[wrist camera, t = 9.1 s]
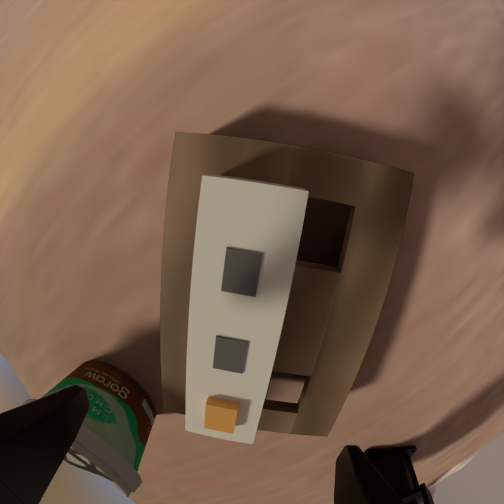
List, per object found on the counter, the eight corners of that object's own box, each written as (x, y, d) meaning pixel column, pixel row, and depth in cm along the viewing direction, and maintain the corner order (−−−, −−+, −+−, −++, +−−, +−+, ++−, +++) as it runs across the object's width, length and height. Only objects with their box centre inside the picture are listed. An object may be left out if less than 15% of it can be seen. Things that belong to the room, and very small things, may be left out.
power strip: (299, 185, 16) (310, 192, 10) (260, 382, 20) (251, 451, 14) (230, 175, 16) (197, 175, 10) (207, 372, 20) (182, 437, 14)
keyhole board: (387, 172, 16) (413, 173, 12) (323, 401, 21) (327, 436, 17) (197, 140, 17) (175, 131, 13) (178, 376, 22) (162, 408, 18)
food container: (170, 374, 22) (121, 465, 12) (170, 419, 24) (134, 500, 14) (57, 332, 23) (-8, 387, 13) (67, 379, 24) (16, 435, 15)
